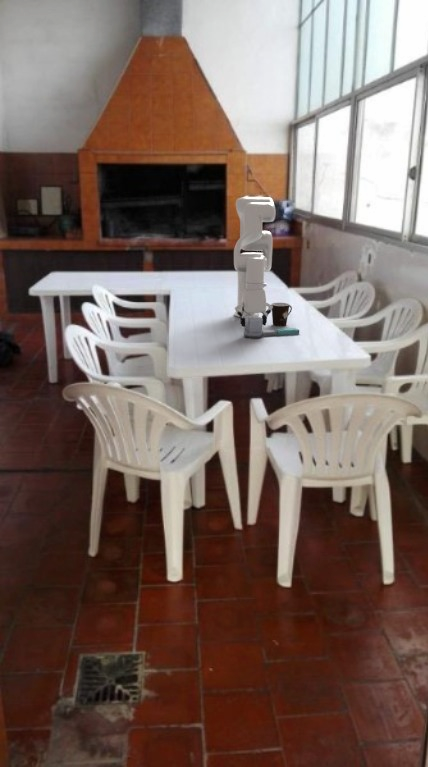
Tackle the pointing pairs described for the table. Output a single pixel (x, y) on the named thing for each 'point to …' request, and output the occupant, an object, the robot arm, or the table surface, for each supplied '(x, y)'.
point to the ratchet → (272, 333)
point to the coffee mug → (280, 313)
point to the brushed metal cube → (253, 324)
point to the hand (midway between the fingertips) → (253, 325)
